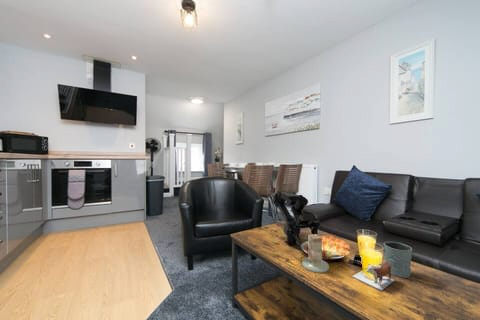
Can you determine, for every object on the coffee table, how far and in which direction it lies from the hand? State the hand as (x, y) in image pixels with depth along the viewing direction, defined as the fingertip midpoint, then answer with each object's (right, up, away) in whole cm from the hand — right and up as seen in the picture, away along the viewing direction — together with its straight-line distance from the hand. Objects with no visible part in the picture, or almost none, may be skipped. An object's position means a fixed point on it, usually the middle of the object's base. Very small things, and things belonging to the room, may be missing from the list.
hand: (308, 242), depth 99 cm
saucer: (+1, -9, -6) cm, 10 cm away
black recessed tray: (+23, -10, -4) cm, 25 cm away
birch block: (+1, -8, -6) cm, 10 cm away
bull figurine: (+23, -9, -19) cm, 31 cm away
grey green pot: (+36, -9, -11) cm, 39 cm away
